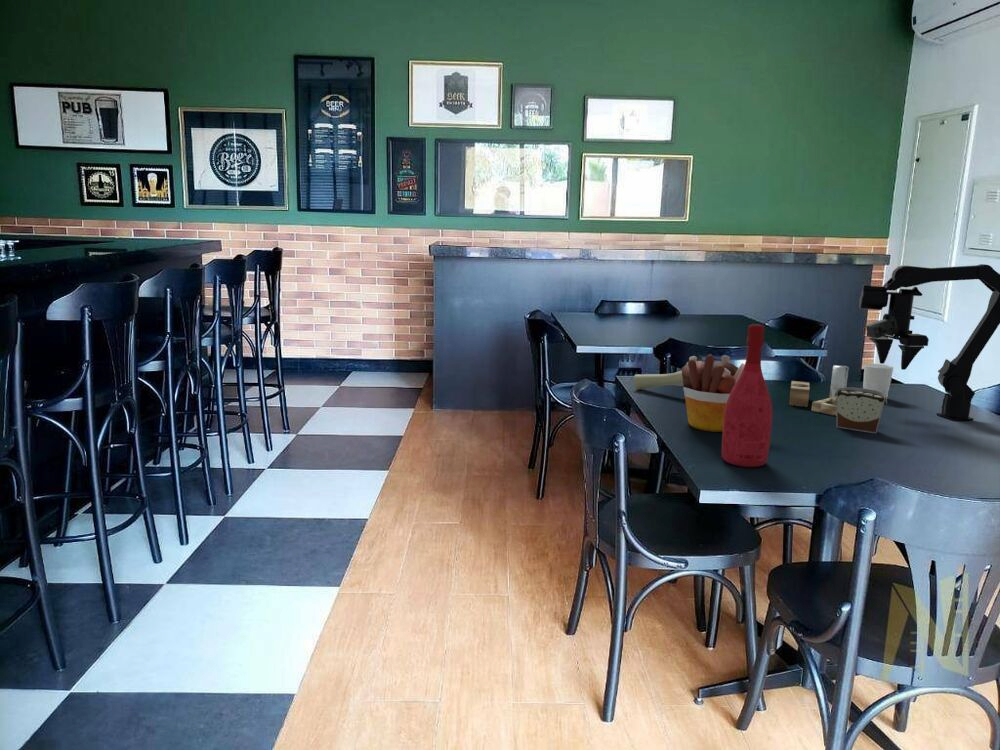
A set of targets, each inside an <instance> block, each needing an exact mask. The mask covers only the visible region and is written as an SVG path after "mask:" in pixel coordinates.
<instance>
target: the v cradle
mask: <svg viewBox="0 0 1000 750" xmlns="http://www.w3.org/2000/svg"><path fill="white" fill-rule="evenodd" d="M811 411H812V412H816V413H820V412H821V413H822V414H825V415H829V416H834V415H835V417H837V405H832V404H829V397H828V398H824V399H819V400H814V401H812V403H811ZM821 413H820V414H821Z"/></svg>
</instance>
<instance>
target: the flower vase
mask: <svg viewBox="0 0 1000 750" xmlns="http://www.w3.org/2000/svg"><path fill="white" fill-rule="evenodd" d="M736 367H737V368H739V366H736ZM632 384H633V387H634V389H635V390H644V389H651V388H652V389H653V388H656V387H665V386H679V387H681V386H682V387H683V378H682V370H680V371H679V370H678V371H676V372H673V373H671V372H670V373H663V374H662V373H661V374H660V373H657V374H656V373H655V374H654V373H653V374H650V373H649V374H646V373H645V374H639V373H638V374H634V376H633V379H632Z"/></svg>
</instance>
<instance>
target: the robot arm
mask: <svg viewBox="0 0 1000 750" xmlns="http://www.w3.org/2000/svg"><path fill="white" fill-rule="evenodd" d="M970 280H971V281H973V280H979V281H980V282H981V283H982V284H983V285H984V286H985V287H986V288H987V289H988V290H990V291H991V292H992V293H991V295H990V297H989V300H988V305H987V309H986V311H985V313H984V315H983V316H982V317H981V319H980V321H979V322H978V324H977V325H976V327H975V328H974V330H973V331H972V332H971V334H970V336H969V337H968V339H967V341H966V342H965V343H964V345H963V347H962V349H961V350H960V351H959V353H958V354H957V355H956V357H955V358H953V359H952V360H951V361H950V360H949V359H947V358H946V359H945V360H944V361H943V365H942V366H941V368H940V369H939V370H937V372H938V376H937V380H938V383H939V384H940V386H941V387H943V388H944V391H945V393H944V397H943V398H942V399H943V400H942V406H941V412H937V413H936V415H937V416H939V417H942V418H944V419H949V420H951V421H974V420H975V419H974V417H970V412H971V404H972V399H973V398H974V396H975V394H976V393H975V391H974V390H973V389H972V388H971V387H970V386H969V385H968V381H969V379H970V377H971V374H972V371H973V366H974V364H975V362H976V361H977V359H978V357H979V356H980V354H981V353H982V352H983V350H984V348H985V347H986V346H987V344H988V343H989V341H990V339H991V338H992V336H993V335H994V333H995V332H996V330H997V329H998V327H999V326H1000V273H999V272H997V271H996V270H995V269H994V268H993V267H992V266H991V265H990V264H983V263H981V264H980V263H979V264H977V265H962V266H961V265H960V266H946V267H943V266H942V267H923V266H913V265H900V266H897V267H896V268H895V269H894V270H893V271H892V273H891V277H890V278H889V279H888V280H887V281H886V282H885V283H884V285H882V286H881V285H869V284H863V285H862V290H861V293H860V296H859V302H858V303H859V304H858V307H859V308H858V309H860V310H871V311H872V310H874V311H882V310H883V308H886V307H887V306H888V310H887V311H888V312H887V313H884V314H883V315H882V319H879V320H876V321H873V322H871V323H868V324H865V328H866V335H865V336H866V337H869V338H868V339H869V340H870V341H872V342H873V343H874V345H875V347H876V350H877V356H878V360H879V364H882V365H885V362H886V361H887V358H888V355H889V353H890V350H891V347H892V346H893V345H892V344H893V342H894V340H897V341H899V344H898V345H897V346H898V347H899V349H900V351H901V360H900V365H901V366H900V368H901V369H900V370H904V371H905V370H907V368H908V367H909V366H910V364H911V363H912V361H913V360H914V359H915V357H916V356H917V355H918V354H919V352H920V351H921V350H922V349H925V347H928V346H929V337H928V336H927V334H926V335H924V334H920V333H913V330H912V329H911V330H910V326H911V320H915V315H912V313H913V305H914V304H913V303H914V297H922V296H923V293H922V292H921V291H920V290H919V288H918V287H917V286H920V285H923V284H929V283H933V282H950V281H951V282H953V281H970ZM909 287H912V288H909ZM898 289H899V291H897V290H898ZM896 291H897V292H896ZM889 295H890V296H889ZM888 302H889V303H888Z"/></svg>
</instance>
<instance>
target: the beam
mask: <svg viewBox="0 0 1000 750" xmlns="http://www.w3.org/2000/svg"><path fill="white" fill-rule="evenodd" d="M810 391H811V390H810V382H808V381H807V382H806V381H796V380H791V383H790V393H789V403H788V404H789V406H794V405H795V407H803V406H804V407H805V408H808V407H809V398H810Z"/></svg>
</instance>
